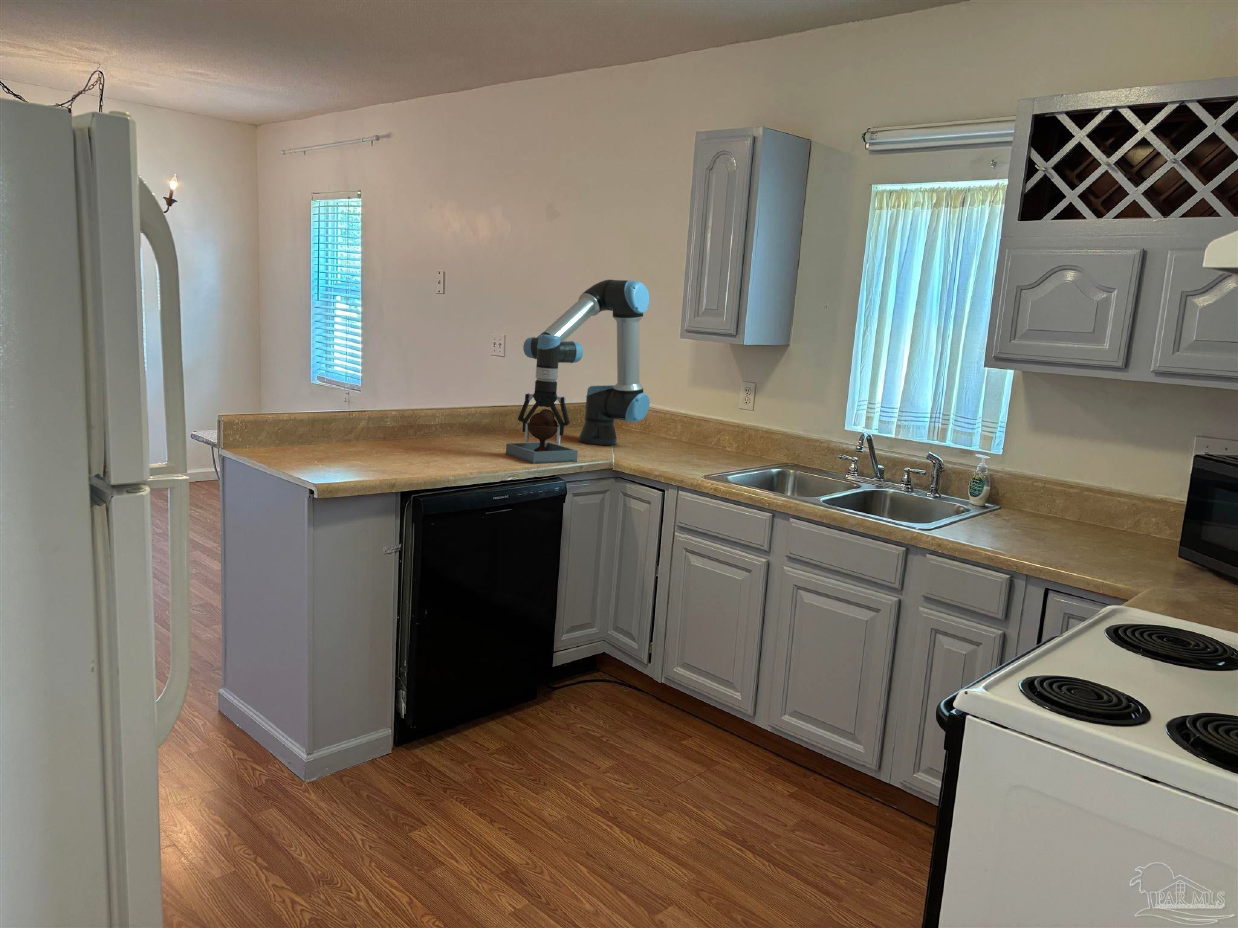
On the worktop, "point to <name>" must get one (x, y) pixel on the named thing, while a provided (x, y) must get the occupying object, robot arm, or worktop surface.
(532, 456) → the charcoal bin
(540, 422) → the ice cream bowl
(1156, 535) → the worktop surface
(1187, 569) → the worktop surface
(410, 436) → the worktop surface
